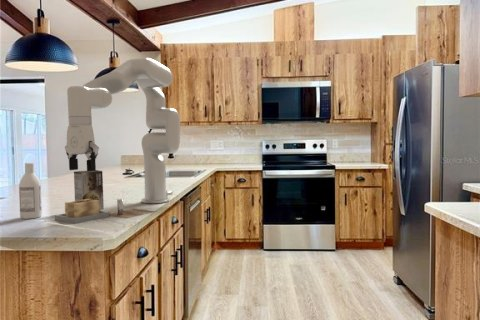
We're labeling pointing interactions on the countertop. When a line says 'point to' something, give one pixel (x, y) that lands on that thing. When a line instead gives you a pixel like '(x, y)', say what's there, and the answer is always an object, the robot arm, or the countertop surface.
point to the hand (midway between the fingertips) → (82, 170)
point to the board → (131, 213)
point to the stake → (120, 206)
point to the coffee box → (89, 186)
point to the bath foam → (30, 194)
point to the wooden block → (81, 208)
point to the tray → (82, 219)
